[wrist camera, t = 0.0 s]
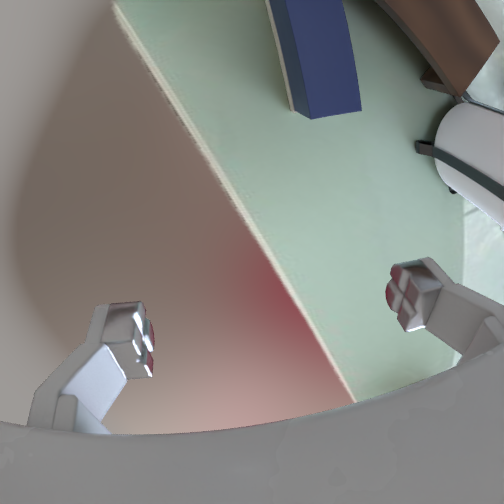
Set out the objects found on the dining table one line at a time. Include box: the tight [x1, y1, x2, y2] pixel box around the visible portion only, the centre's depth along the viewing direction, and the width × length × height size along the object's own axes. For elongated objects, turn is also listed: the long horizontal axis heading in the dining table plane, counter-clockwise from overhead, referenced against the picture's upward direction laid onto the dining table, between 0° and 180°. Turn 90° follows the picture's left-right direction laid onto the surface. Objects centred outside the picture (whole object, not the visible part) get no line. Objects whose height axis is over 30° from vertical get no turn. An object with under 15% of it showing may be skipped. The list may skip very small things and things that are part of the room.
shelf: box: [374, 0, 500, 97], centre depth 20 cm, size 11×16×6 cm
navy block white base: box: [265, 0, 362, 119], centre depth 22 cm, size 13×5×6 cm, turn 13°
